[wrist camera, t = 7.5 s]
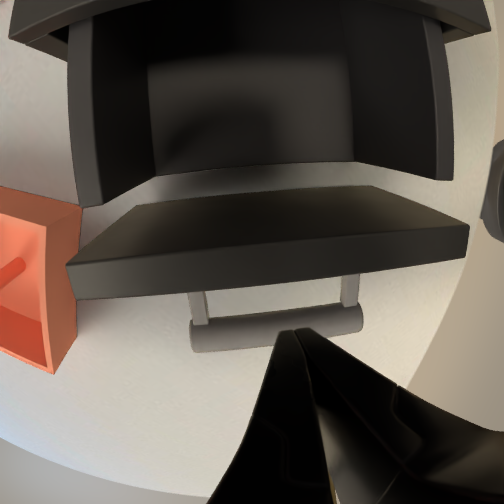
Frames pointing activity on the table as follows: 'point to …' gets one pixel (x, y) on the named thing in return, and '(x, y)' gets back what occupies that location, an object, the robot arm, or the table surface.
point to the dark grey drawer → (258, 151)
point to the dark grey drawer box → (92, 3)
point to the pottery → (37, 277)
